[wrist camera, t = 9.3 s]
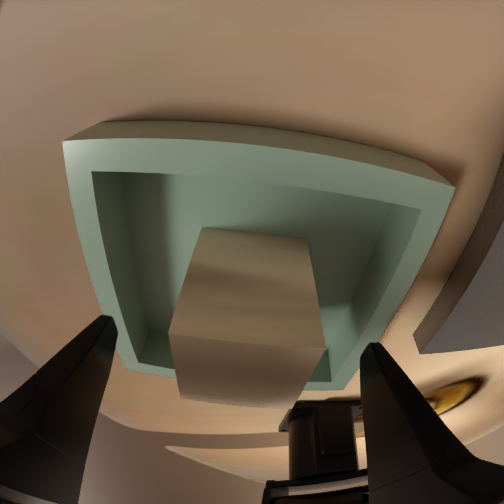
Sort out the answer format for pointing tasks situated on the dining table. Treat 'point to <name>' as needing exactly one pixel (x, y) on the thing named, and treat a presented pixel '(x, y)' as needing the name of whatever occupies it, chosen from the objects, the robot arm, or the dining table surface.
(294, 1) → the dining table surface
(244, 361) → the block
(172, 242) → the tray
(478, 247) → the base
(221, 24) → the dining table surface
